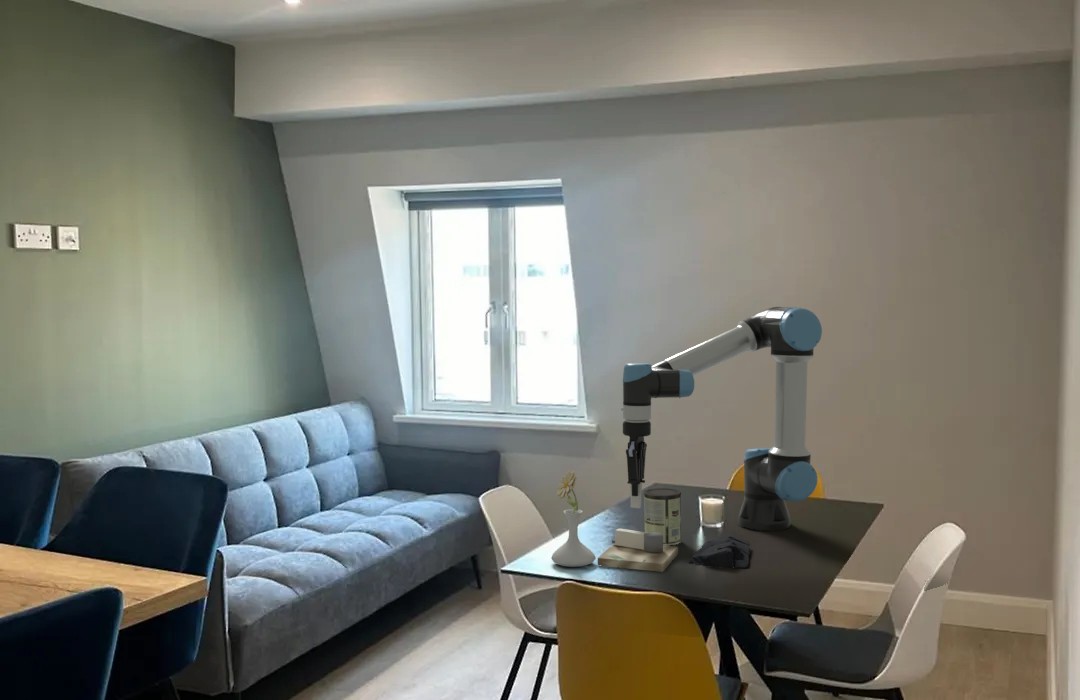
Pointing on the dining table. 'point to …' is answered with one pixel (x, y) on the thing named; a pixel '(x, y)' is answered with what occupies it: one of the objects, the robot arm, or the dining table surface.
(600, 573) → the dining table surface
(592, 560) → the flower in vase
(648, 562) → the board
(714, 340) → the robot arm
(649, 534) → the peg
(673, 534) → the coffee can
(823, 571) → the dining table surface
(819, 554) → the dining table surface
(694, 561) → the dark slate chunk
